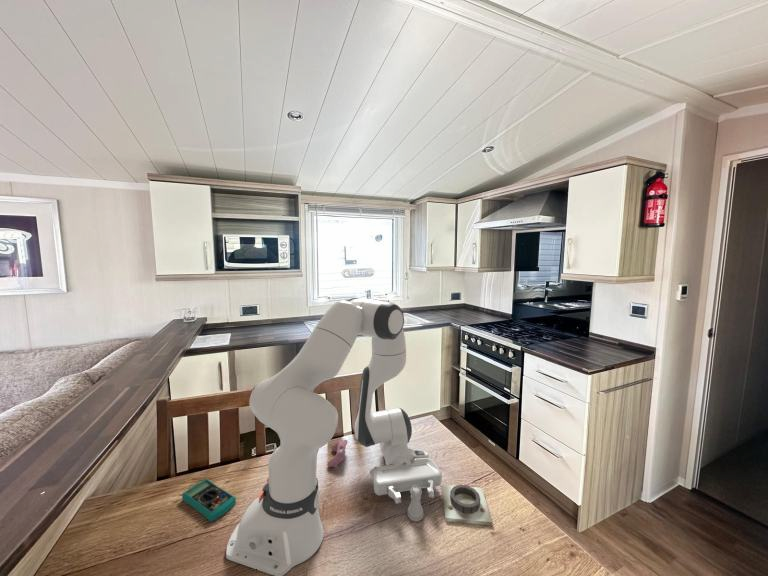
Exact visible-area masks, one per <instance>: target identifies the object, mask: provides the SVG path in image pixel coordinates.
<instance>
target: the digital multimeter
mask: <svg viewBox="0 0 768 576" xmlns="http://www.w3.org/2000/svg"><path fill="white" fill-rule="evenodd" d="M181 498H182V499H181V500H182V501H183V502H184V503H186V504H188V505H189V506H190V507H192V508H193V509H195V510H196V511H197V512H199V513H200V514H201V515H202V516H204V517H205V519H207V521H209V522H213V521H215V520H218V519H219V518H220V517H222V516H224V515H225V514H226V513H228V511H230V510H231V509H232V507H234V506H235V505H236V503H237V501H236V496H235V495H233V494H231V493H229V492H228V491H226V490H224V489H223V488H221V487H219V486H217V485H216V484H215V483H213V481H211V480H210V479H208V478H205V479H203V480H202V481H201V480H200V482H198V483H197V484H195V485H193V486H191V487H190V488H189V489H187V490H186V491H185V492H183V493H182V494H181Z"/></svg>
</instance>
